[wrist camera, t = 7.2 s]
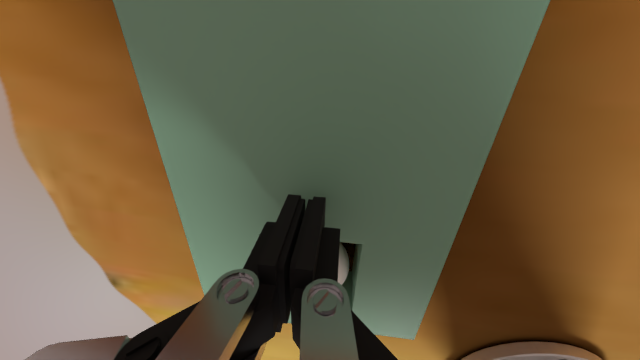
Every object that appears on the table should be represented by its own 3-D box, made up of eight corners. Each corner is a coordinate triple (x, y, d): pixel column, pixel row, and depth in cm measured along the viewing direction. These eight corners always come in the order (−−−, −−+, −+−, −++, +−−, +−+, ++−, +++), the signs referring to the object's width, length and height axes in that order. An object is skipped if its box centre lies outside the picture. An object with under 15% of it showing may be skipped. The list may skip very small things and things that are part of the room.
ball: (350, 242, 17) (342, 295, 16) (302, 233, 17) (291, 285, 16) (356, 237, 14) (347, 304, 12) (296, 226, 14) (283, 290, 13)
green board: (404, 298, 18) (414, 339, 15) (228, 276, 19) (209, 312, 17) (626, -396, 6) (865, -784, 3) (93, -338, 7) (-69, -582, 4)
